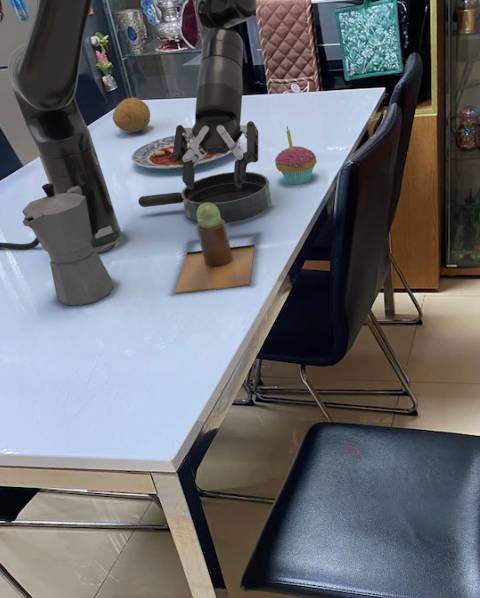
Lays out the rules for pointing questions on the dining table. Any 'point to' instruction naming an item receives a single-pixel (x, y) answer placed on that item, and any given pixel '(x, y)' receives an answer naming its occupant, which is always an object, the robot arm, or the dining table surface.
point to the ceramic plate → (167, 154)
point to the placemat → (216, 271)
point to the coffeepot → (70, 243)
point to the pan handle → (160, 199)
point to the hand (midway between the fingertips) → (213, 186)
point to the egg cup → (213, 236)
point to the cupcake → (295, 163)
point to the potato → (131, 115)
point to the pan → (228, 196)
